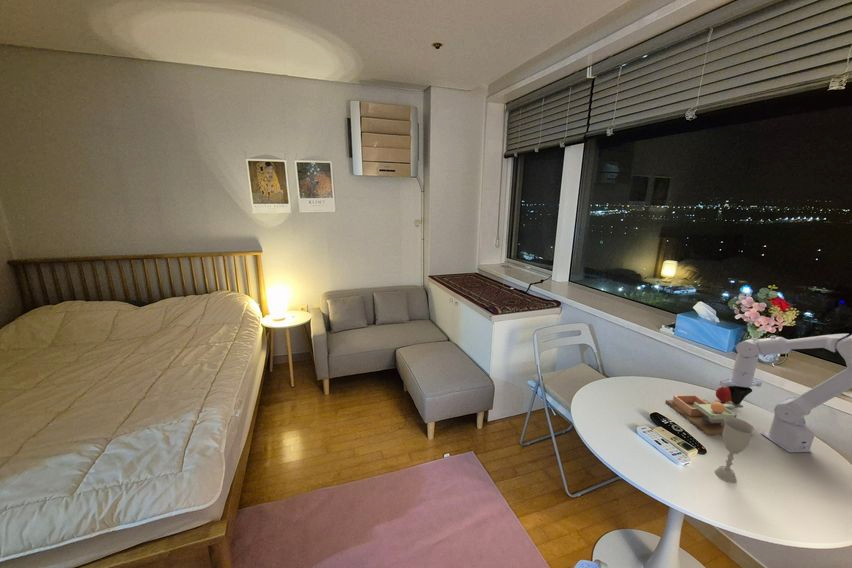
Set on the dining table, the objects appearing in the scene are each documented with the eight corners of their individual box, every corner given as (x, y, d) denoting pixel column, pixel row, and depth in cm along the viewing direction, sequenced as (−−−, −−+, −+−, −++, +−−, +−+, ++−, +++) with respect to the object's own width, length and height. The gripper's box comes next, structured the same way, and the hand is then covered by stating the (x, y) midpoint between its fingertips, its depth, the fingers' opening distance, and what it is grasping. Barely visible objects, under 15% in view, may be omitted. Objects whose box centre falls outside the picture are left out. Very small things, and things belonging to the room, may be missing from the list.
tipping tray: (759, 422, 119) (761, 414, 118) (710, 423, 119) (712, 415, 118) (734, 406, 129) (735, 398, 128) (689, 407, 128) (690, 399, 127)
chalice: (743, 489, 96) (758, 436, 92) (713, 479, 99) (726, 427, 95) (737, 472, 102) (751, 422, 98) (709, 463, 106) (721, 414, 101)
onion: (718, 405, 136) (722, 387, 134) (711, 397, 141) (715, 380, 139) (735, 407, 134) (740, 390, 132) (727, 399, 140) (731, 383, 138)
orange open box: (712, 415, 128) (714, 408, 127) (690, 416, 127) (691, 408, 127) (693, 402, 136) (695, 395, 136) (672, 402, 136) (673, 395, 135)
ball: (726, 415, 119) (729, 405, 118) (716, 415, 119) (718, 406, 118) (717, 408, 123) (719, 399, 122) (706, 409, 123) (708, 399, 122)
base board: (752, 433, 119) (755, 421, 118) (706, 434, 119) (709, 422, 117) (704, 401, 139) (707, 390, 137) (665, 402, 138) (667, 391, 137)
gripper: (751, 365, 127) (743, 396, 130) (715, 365, 127) (708, 397, 130) (771, 374, 120) (761, 407, 124) (732, 375, 120) (724, 407, 123)
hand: (735, 402), depth 126 cm, fingers closed
